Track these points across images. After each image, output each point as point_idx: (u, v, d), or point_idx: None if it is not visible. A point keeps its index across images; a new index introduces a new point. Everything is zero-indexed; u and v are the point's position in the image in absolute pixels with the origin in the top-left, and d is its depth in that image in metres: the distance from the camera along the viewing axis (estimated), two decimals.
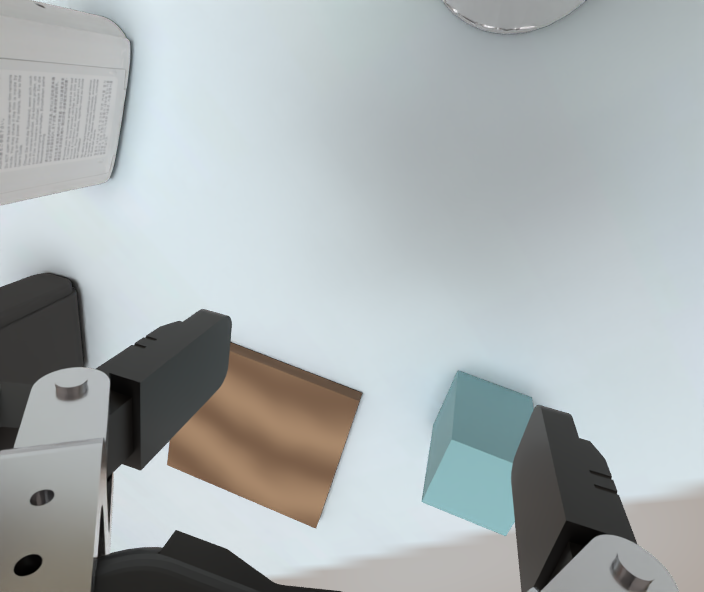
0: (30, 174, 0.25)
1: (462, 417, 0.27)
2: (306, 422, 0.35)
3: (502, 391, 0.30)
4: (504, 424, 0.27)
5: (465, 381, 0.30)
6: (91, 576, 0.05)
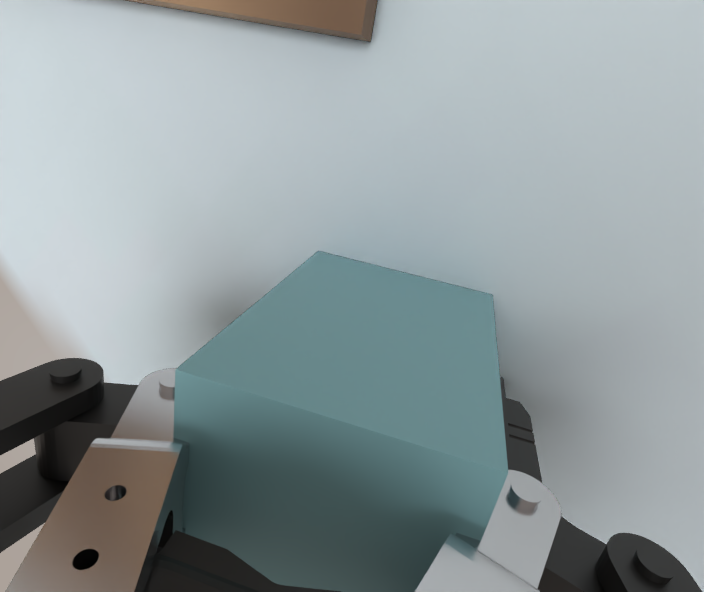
0: None
1: None
2: None
3: None
4: None
5: None
6: (135, 587, 0.05)
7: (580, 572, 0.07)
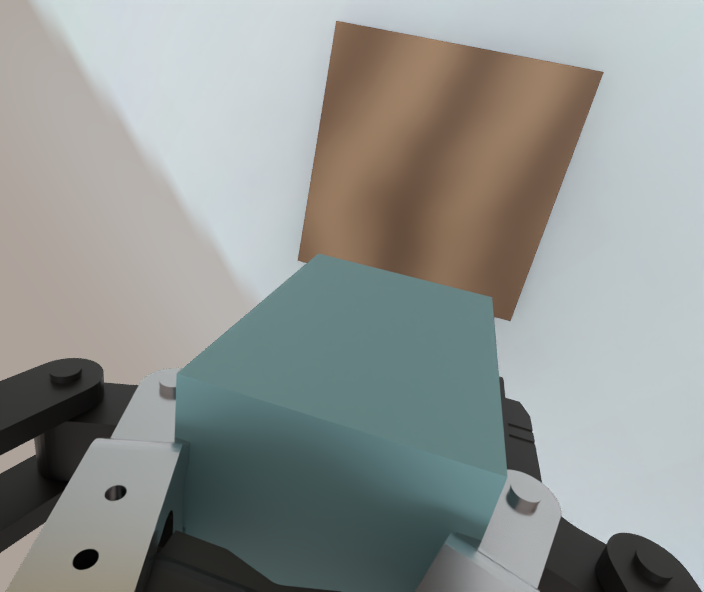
0: None
1: None
2: (467, 256, 0.28)
3: None
4: None
5: None
6: (135, 587, 0.05)
7: (580, 572, 0.07)
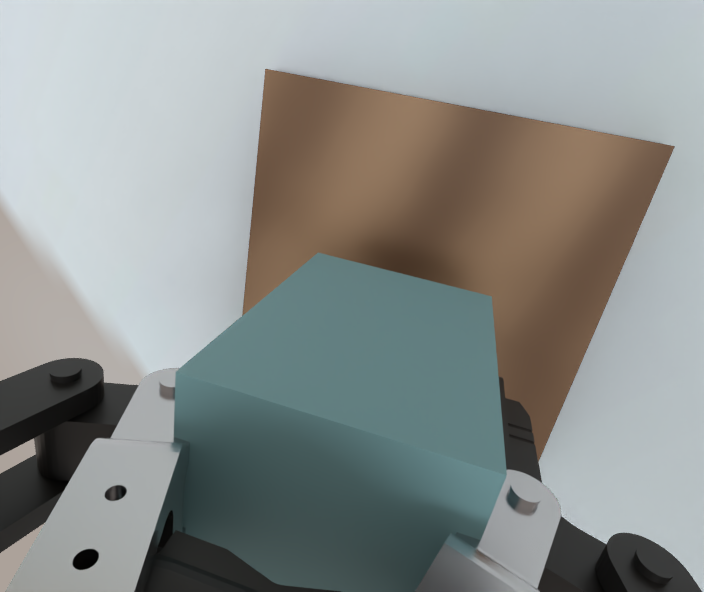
0: None
1: None
2: None
3: None
4: None
5: None
6: (135, 587, 0.05)
7: (580, 572, 0.07)
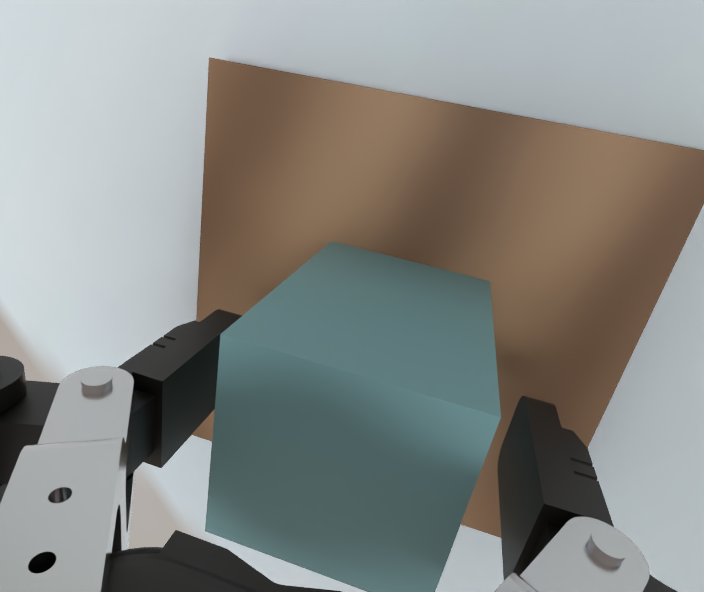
0: None
1: None
2: None
3: None
4: None
5: None
6: (102, 577, 0.05)
7: None
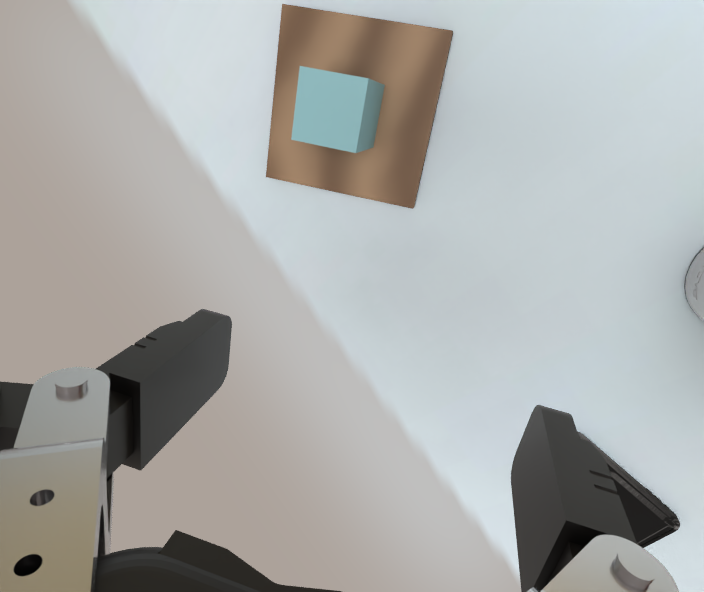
0: None
1: (373, 88, 0.34)
2: (380, 164, 0.41)
3: (376, 123, 0.39)
4: (368, 124, 0.36)
5: (381, 91, 0.38)
6: (91, 577, 0.05)
7: None
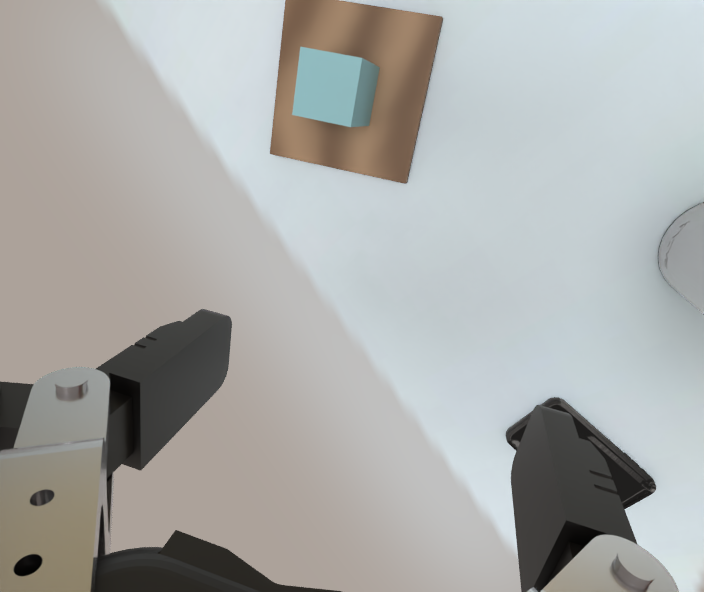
0: None
1: (367, 68, 0.37)
2: (375, 141, 0.44)
3: (371, 103, 0.42)
4: (363, 102, 0.39)
5: (376, 73, 0.41)
6: (91, 576, 0.05)
7: None
